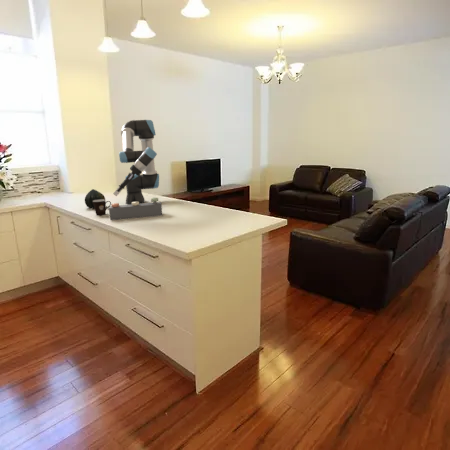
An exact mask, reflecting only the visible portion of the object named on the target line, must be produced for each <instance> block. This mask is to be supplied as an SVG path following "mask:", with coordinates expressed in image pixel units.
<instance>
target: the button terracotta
mask: <svg viewBox="0 0 450 450" xmlns="http://www.w3.org/2000/svg"><path fill="white" fill-rule="evenodd" d="M119 205H120V204H119V202H115V203H111V205H110V206H112V207H119Z"/></svg>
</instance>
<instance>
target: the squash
mask: <svg viewBox="0 0 450 450" xmlns="http://www.w3.org/2000/svg"><path fill="white" fill-rule="evenodd" d="M100 199H104V200H106V197H105V196H104V194H103V193H102V192H100V191H98V190H97V189H93V188H92V189H91V190H89V191H88V193H86V195H85V197H84V203H85V206H86V207H87V208H89V209H95V208H94V205H93V201H94V200H100Z"/></svg>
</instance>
